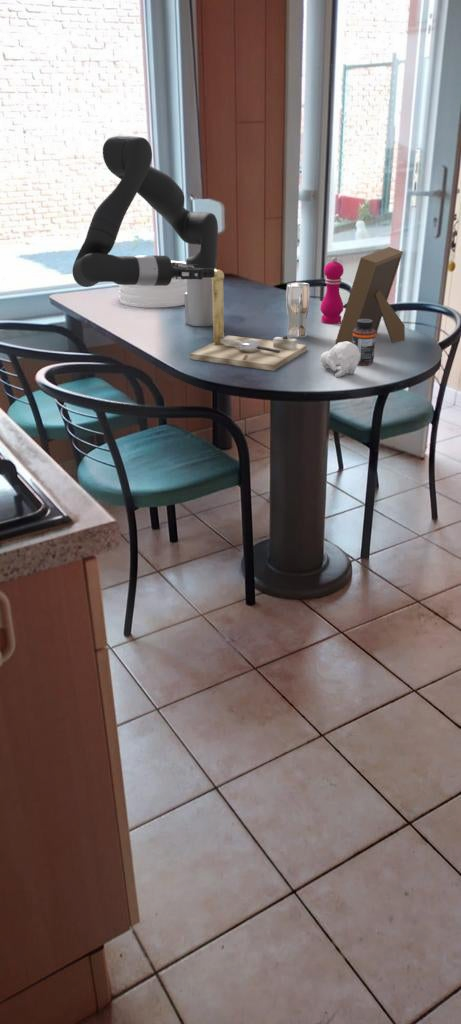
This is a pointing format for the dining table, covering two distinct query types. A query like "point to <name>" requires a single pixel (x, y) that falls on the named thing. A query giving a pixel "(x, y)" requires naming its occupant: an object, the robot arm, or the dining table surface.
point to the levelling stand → (254, 359)
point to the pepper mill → (332, 293)
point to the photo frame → (373, 295)
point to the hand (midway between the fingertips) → (206, 271)
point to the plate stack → (154, 294)
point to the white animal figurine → (341, 358)
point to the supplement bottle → (364, 340)
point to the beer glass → (297, 308)
